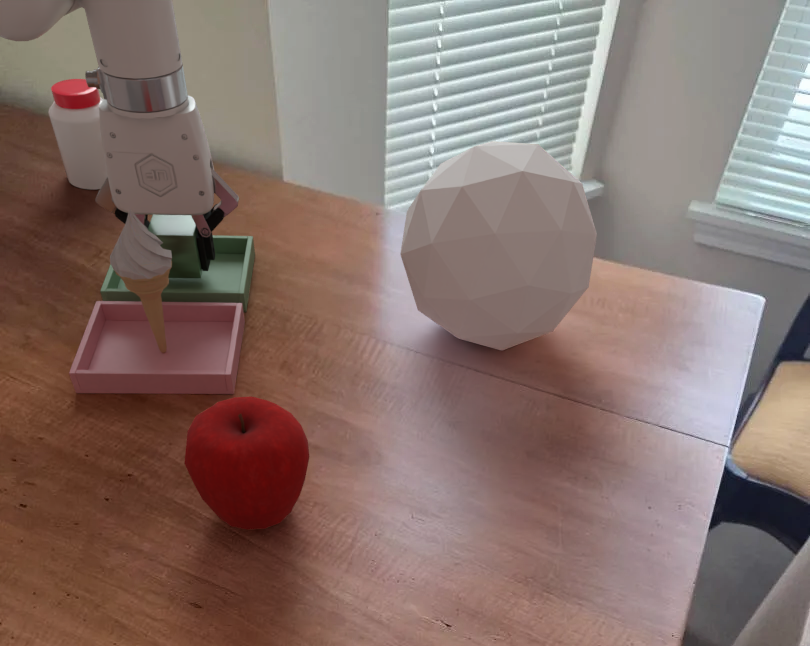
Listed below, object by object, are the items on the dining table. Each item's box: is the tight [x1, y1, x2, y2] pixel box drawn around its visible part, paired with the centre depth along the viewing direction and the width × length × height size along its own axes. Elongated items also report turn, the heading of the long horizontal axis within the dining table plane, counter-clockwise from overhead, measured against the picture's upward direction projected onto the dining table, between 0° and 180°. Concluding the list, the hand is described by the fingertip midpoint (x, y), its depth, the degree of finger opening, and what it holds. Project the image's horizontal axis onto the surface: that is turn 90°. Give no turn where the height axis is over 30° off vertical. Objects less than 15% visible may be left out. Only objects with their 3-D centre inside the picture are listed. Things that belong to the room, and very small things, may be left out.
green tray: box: [100, 234, 256, 313], centre depth 85 cm, size 15×12×2 cm
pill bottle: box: [48, 78, 108, 191], centre depth 97 cm, size 8×8×11 cm
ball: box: [399, 140, 598, 351], centre depth 76 cm, size 19×20×20 cm
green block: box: [148, 215, 203, 278], centre depth 83 cm, size 5×5×5 cm
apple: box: [183, 395, 310, 531], centre depth 60 cm, size 10×10×11 cm
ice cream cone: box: [109, 209, 172, 353], centre depth 71 cm, size 6×6×15 cm
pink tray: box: [68, 300, 246, 395], centre depth 76 cm, size 15×12×2 cm
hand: (180, 262), depth 85 cm, fingers closed on green block, 5 cm apart
